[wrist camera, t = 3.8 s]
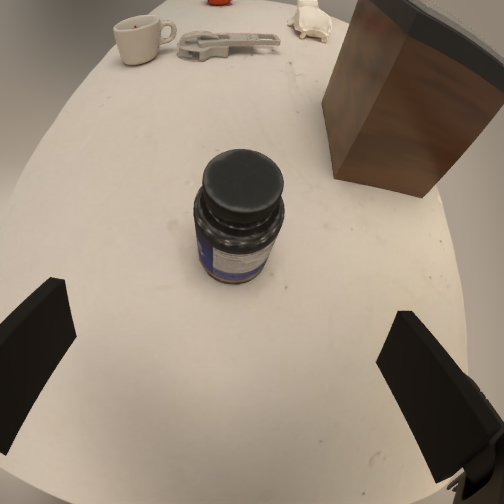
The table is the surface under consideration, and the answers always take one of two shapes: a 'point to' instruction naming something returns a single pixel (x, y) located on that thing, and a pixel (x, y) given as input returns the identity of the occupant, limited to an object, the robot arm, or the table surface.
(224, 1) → the apple
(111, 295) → the table surface
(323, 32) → the white turtle figurine
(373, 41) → the stand
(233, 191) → the pill bottle
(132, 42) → the cup
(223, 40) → the zipper pull
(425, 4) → the scale
